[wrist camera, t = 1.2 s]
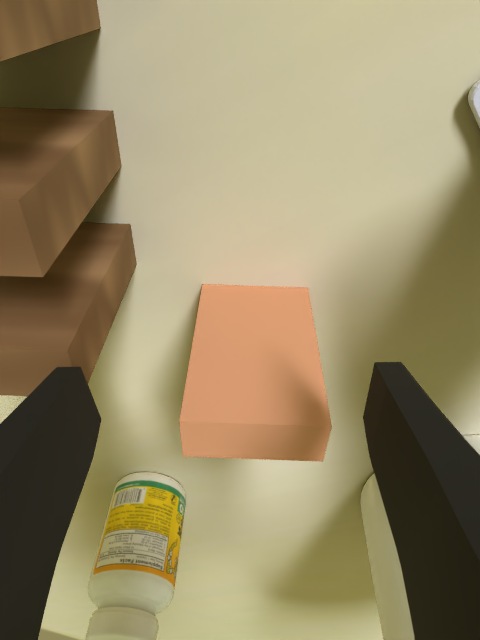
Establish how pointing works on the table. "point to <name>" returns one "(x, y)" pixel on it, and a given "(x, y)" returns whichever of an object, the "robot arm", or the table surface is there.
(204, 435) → the domino
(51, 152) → the domino
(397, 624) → the utensil holder
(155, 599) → the supplement bottle
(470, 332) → the table surface
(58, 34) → the domino
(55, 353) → the domino
